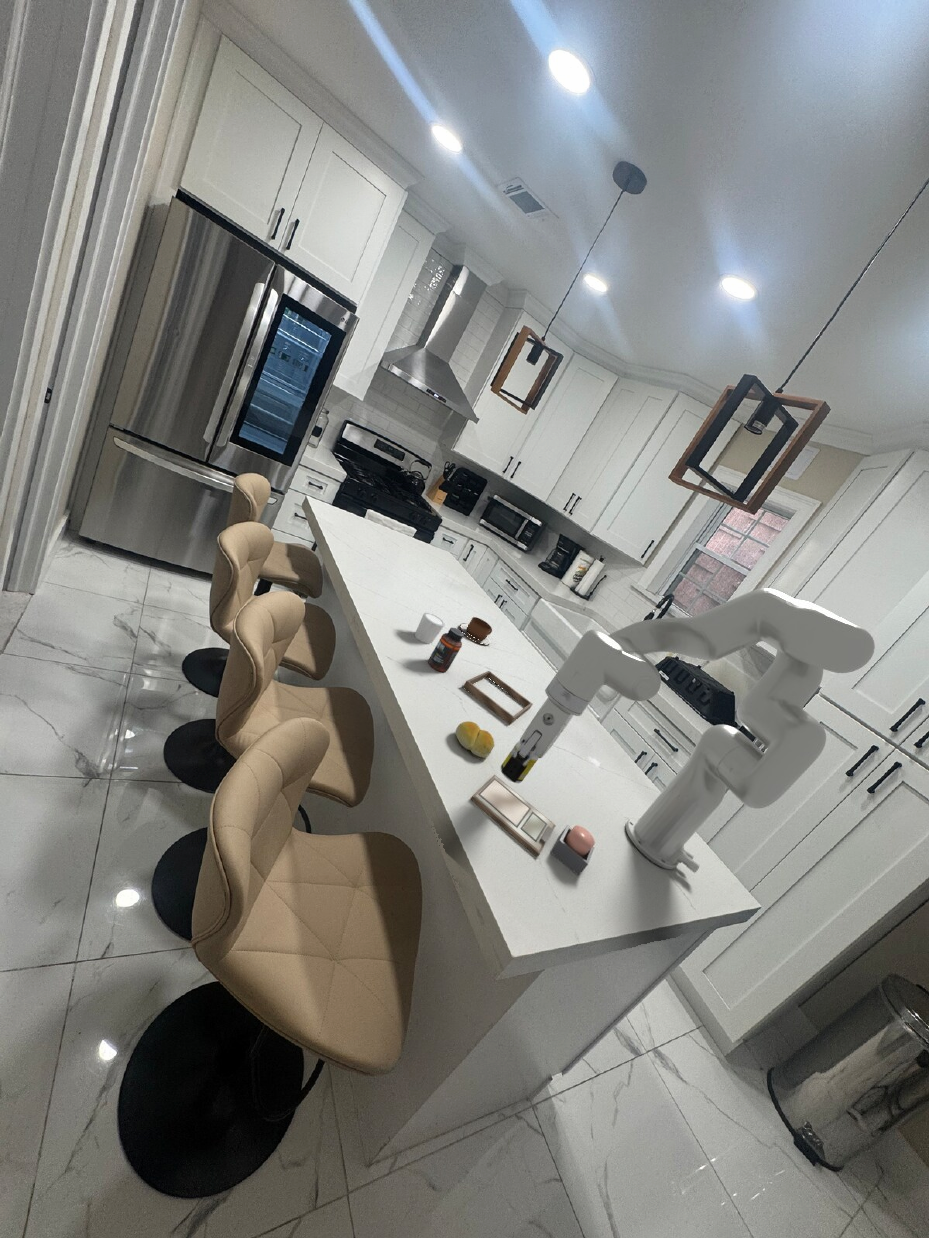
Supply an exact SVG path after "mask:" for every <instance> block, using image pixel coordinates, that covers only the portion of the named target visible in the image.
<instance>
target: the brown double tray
mask: <svg viewBox="0 0 929 1238" xmlns="http://www.w3.org/2000/svg"><path fill="white" fill-rule="evenodd" d="M470 800H471V801H472V802H473V803H474V804H475V805H476V806H478V807H479V808H480V809H481V810H483V811H484V813H486V814H487V815H488V816H489V817H490V818H491V819H493V820H494V821H495V822H496V823H497V824H498V825H500V826H501V827H502V828H503V829H504V830H505V831H506V832H508V834H510V835H511V836H512V837H514V839H515V840H517V841H519V843H520V844H521V845H523V846H524V847H525V848H526V849H527V850H528V851H530V853H532V854H533V855H534V856H535V857H536V858H538V857H539V856H540V855H541V853H542V852H543V850H544V848H545V845H546V844H547V842H548V840H549V839H550V838H551V837H550V836H551V835H552V833H553V832H554V830H555V828H556V826H557V825H556V824H555V823H553V822H552V821H551V820H550V819H549V818H548V817H546V816H545V815H544V814H543V813H541V812H540V811H539V810H538V809H537V808H536V807H534V806H533V804H531V803H530V802H529V801H527V800H526V799H525V798H524V797H523V796H521V795H520V794H519V793H518V792H517V791H515V789H513V788H511V787H510V786H509V785H508V784H507V783H505V782H504V781H503V780H502V779H501V778H500V777H498V776H497V775H496V774H495V773H494V774H493V775H492V776H491V777H490V778H489V779H488V780H487V781H486V782H485V783H484V784H483V785H482V786H481V787H480V788H479V789H477V791H476V792H475V793H474V794H473V795H472V796H471V797H470Z"/></svg>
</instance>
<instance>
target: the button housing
mask: <svg viewBox="0 0 929 1238" xmlns="http://www.w3.org/2000/svg"><path fill="white" fill-rule="evenodd" d="M572 829H573V828H571V827H570V826H569V825H566V827H565V828H564V829H563V830H562V831H561V833H560V834H559V835H558V837H557V839H556V841H555V843H554V845H553V847H552V848H551V851H550V853H551V855H553V856H555V857H556V858H557V859H558V860H559V861H561V862H562V863H563V864H564V865H565V866H566V867H567V868H568V869H570V871H572V872H573V873H575V874H576V875H577V876H578V877H579V876H580V875H581V874H582V873H583V871H584V870H585V869H586V867H587V866H588V865H589V863H590V860H591V858H592V855H593V852H594V851H595V846H593V847H592V848H591V849H590V850H589V852H588V853H587V854H586V855H585V857H583V858H582V857H581V856H580V855H579V854H578V853H576V852H575V851H574V850H573V849H572V848H570V847H569V846H568V845H567V844H566V843H565V838H566V837H567V835H568V834H569V833H570V831H571V830H572Z"/></svg>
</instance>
